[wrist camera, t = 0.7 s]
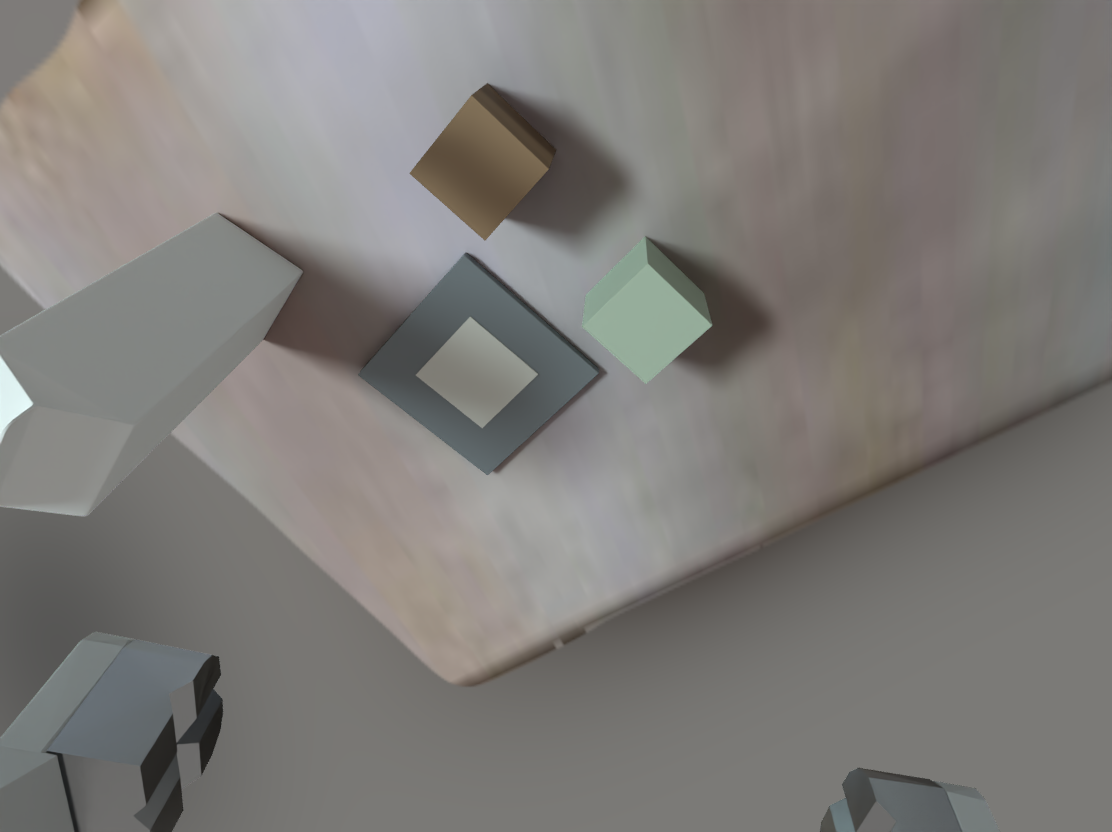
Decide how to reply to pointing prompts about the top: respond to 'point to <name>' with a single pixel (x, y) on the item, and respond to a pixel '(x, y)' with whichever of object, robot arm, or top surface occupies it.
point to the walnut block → (484, 161)
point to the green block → (646, 311)
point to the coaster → (478, 366)
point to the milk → (129, 362)
